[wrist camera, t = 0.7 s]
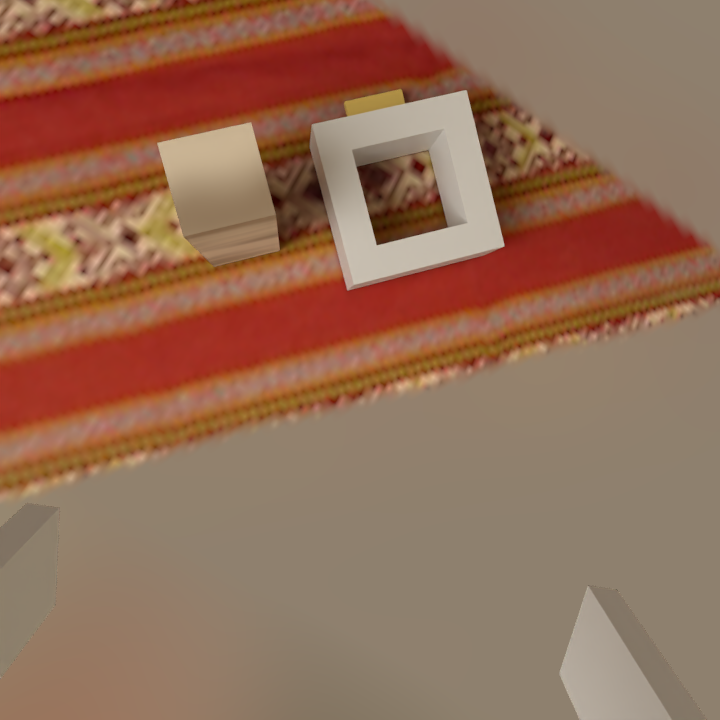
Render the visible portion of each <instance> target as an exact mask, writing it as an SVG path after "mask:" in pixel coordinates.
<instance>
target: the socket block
mask: <svg viewBox="0 0 720 720" xmlns="http://www.w3.org/2000/svg"><path fill="white" fill-rule="evenodd" d="M344 108H345V112H346V115H347V117H343V118H338V119H334V120H329V121H325V122H320V123H316V124H312V127H311V137H310V150H311V154H312V158H313V162H314V166H315V169H316V173H317V177H318V181H319V185H320V188H321V192H322V196H323V200H324V204H325V207H326V211H327V215H328V219H329V222H330V226H331V230H332V234H333V238H334V241H335V245H336V249H337V253H338V257H339V260H340V264H341V268H342V272H343V276H344V279H345V283H346V287H347V291H348V290H352V289H356V288H360V287H363V286H367V285H371V284H375V283H379V282H383V281H387V280H391V279H394V278H398V277H402V276H406V275H410V274H414V273H418V272H422V271H426V270H429V269H433V268H437V267H441V266H445V265H449V264H453V263H457V262H460V261H464V260H468V259H472V258H476V257H480V256H484V255H486V254H488V253H490V252H493V251H495V250H497V249H500V248H502V247H504V246H505V245H504V241H503V237H502V233H501V229H500V225H499V221H498V217H497V213H496V209H495V204H494V200H493V196H492V192H491V188H490V184H489V180H488V176H487V172H486V168H485V163H484V159H483V155H482V151H481V147H480V143H479V139H478V135H477V131H476V127H475V123H474V118H473V114H472V110H471V106H470V102H469V98H468V94H467V90H464V91H460V92H455V93H451V94H446V95H442V96H437V97H433V98H428V99H424V100H419V101H415V102H410V103H406V104H405V101H404V97H403V93H402V89H399V90H394V91H390V92H385V93H381V94H376V95H372V96H367V97H363V98H358V99H353V100H349V101H345V102H344ZM426 150H429V153H430V157H431V161H432V165H433V169H434V173H435V177H436V181H437V185H438V189H439V193H440V197H441V201H442V205H443V209H444V213H445V217H446V221H447V225H448V228H445V229H441V230H437V231H433V232H429V233H425V234H421V235H417V236H413V237H409V238H405V239H401V240H397V241H393V242H389V243H385V244H381V245H376V241H375V237H374V233H373V229H372V225H371V222H370V218H369V214H368V210H367V206H366V202H365V198H364V195H363V191H362V187H361V183H360V179H359V175H358V171H357V168H356V167H358V166H362V165H366V164H371V163H375V162H379V161H384V160H388V159H392V158H396V157H401V156H405V155H409V154H414V153H418V152H422V151H426Z"/></svg>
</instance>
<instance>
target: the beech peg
mask: <svg viewBox="0 0 720 720" xmlns="http://www.w3.org/2000/svg"><path fill="white" fill-rule="evenodd" d="M157 144H158V147H159V151H160V155H161V158H162V162H163V165H164V169H165V172H166V176H167V179H168V183H169V187H170V190H171V194H172V197H173V201H174V204H175V208H176V211H177V215H178V218H179V222H180V226H181V229H182V233H183V236H184V238H186V239H187V240H188V241H189V242H190V243H191V244H192V245H193V246H194V247H195V248H196V249H197V250H198V251H199V252H200V253H201V254H202V255H203V256H204V257H205V258H206V259H207V260H208V261H209V262H210V263H211V264H212V265H213V266H214V267H215V266H219V265H223V264H227V263H231V262H235V261H239V260H243V259H247V258H252V257H256V256H260V255H264V254H268V253H272V252H276V251H280V246H279V238H278V229H277V220H276V213H275V209H274V206H273V202H272V198H271V195H270V191H269V187H268V183H267V180H266V176H265V172H264V169H263V165H262V161H261V158H260V154H259V150H258V146H257V143H256V139H255V135H254V132H253V128H252V124H251V123H246V124H242V125H237V126H232V127H228V128H223V129H219V130H214V131H210V132H205V133H201V134H196V135H191V136H187V137H182V138H178V139H173V140H169V141H164V142H160V143H157Z"/></svg>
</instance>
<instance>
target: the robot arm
mask: <svg viewBox="0 0 720 720" xmlns="http://www.w3.org/2000/svg"><path fill="white" fill-rule="evenodd" d="M59 513H60V508H58V507H51V506H44V505H38V504H31V503H27V504H25V505H24V506H23V507H22V508H21V509H20V510H19V511H18V512H17V513H16V514H15V515H13V516H12V517H11V518H10V519H9V520H8V521H7V522H6V523H5V524H4V525H3V526H1V527H0V679H1V678H2V676H3V675H4V673H5V672H6V671H7V669H8V668H9V667H10V665H11V664H12V663H13V661H14V660H15V659H16V657H17V656H18V655H19V653H20V652H21V651H22V649H23V648H24V646H25V645H26V644H27V642H28V641H29V640H30V639H31V637H32V636H33V635H34V633H35V632H36V630H37V629H38V627H39V626H40V625H41V624H42V622H43V621H44V620H45V618H46V617H47V616H48V614H49V613H50V611H51V610H52V609H53V608H54V606H55V605H56V583H57V561H58V537H59V515H60V514H59ZM560 676H561V678H562V681H563V683H564V685H565V688H566V690H567V692H568V695H569V697H570V699H571V701H572V704H573V706H574V708H575V710H576V713H577V715H578V717H579V719H580V720H707V719H706V717H705V716H704V714H703V713H702V711H701V710H700V708H699V707H698V706H697V704H696V703H695V701H694V700H693V698H692V697H691V696H690V694H689V693H688V691H687V690H686V688H685V687H684V685H683V684H682V682H681V681H680V680H679V678H678V677H677V675H676V674H675V672H674V671H673V670H672V668H671V667H670V665H669V664H668V662H667V661H666V659H665V658H664V657H663V655H662V654H661V652H660V651H659V649H658V648H657V646H656V645H655V644H654V642H653V641H652V639H651V638H650V637H649V635H648V633H647V632H646V630H645V629H644V628H643V626H642V625H641V624H640V622H639V620H638V619H637V618H636V616H635V615H634V613H633V612H632V610H631V609H630V607H629V606H628V604H627V603H626V602H625V600H624V599H623V597H622V596H621V594H620V593H619V592H618V590H617V589H610V588H603V587H596V586H589V585H588V587H587V590H586V593H585V596H584V599H583V603H582V606H581V609H580V612H579V615H578V618H577V621H576V624H575V627H574V630H573V633H572V636H571V639H570V642H569V645H568V649H567V652H566V655H565V658H564V661H563V664H562V667H561V670H560Z"/></svg>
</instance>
